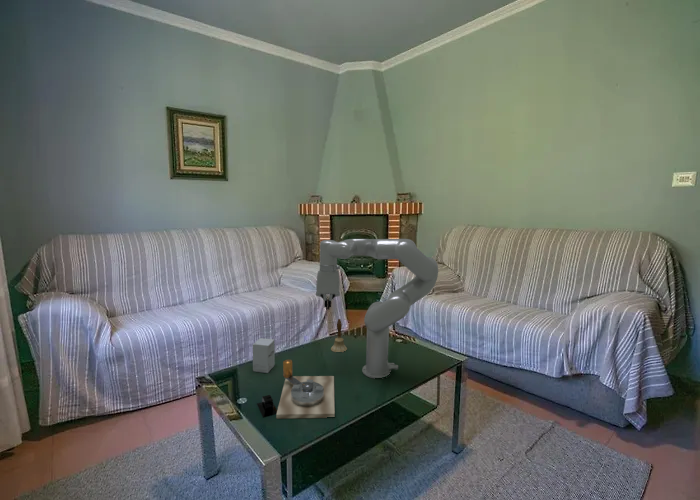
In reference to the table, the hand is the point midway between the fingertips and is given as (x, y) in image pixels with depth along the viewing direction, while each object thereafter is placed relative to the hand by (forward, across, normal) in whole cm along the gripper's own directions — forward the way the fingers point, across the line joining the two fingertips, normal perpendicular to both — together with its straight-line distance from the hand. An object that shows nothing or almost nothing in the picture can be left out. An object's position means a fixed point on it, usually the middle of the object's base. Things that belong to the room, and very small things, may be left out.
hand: (327, 308), depth 152 cm
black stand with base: (+28, +21, +32) cm, 47 cm away
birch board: (+27, +7, +25) cm, 38 cm away
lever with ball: (+25, +10, +24) cm, 36 cm away
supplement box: (+27, +28, +2) cm, 39 cm away
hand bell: (+27, -6, -18) cm, 33 cm away
